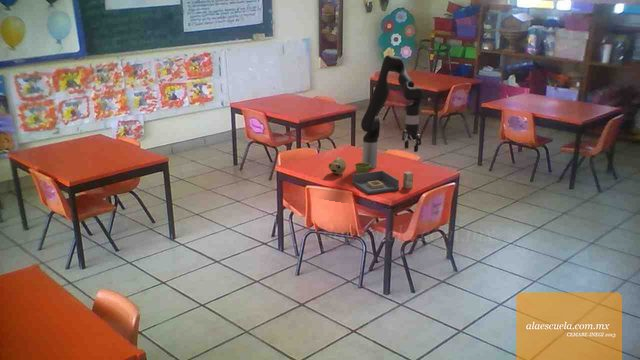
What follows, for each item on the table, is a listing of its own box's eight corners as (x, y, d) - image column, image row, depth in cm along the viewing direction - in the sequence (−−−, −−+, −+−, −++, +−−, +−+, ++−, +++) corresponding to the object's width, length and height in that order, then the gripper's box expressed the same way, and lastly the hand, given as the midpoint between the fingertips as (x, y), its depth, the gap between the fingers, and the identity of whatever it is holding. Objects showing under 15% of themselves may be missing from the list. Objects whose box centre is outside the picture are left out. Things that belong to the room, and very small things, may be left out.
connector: (402, 186, 351) (403, 172, 348) (408, 186, 352) (409, 171, 349) (406, 189, 347) (407, 174, 344) (412, 188, 349) (413, 173, 346)
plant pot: (351, 178, 365) (351, 164, 362) (361, 174, 372) (362, 161, 369) (362, 182, 359) (363, 168, 356) (373, 178, 365) (373, 164, 362)
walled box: (352, 184, 355) (352, 174, 353) (382, 179, 363) (382, 170, 361) (368, 194, 338) (368, 184, 336) (399, 190, 346) (399, 180, 344)
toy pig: (325, 176, 369) (325, 159, 366) (333, 170, 379) (334, 154, 376) (340, 178, 365) (340, 161, 362) (348, 172, 375) (348, 156, 372)
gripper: (425, 124, 334) (424, 152, 339) (409, 119, 346) (408, 146, 351) (414, 125, 331) (413, 153, 336) (399, 120, 342) (398, 148, 347)
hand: (411, 150), depth 343 cm, fingers open, 8 cm apart
